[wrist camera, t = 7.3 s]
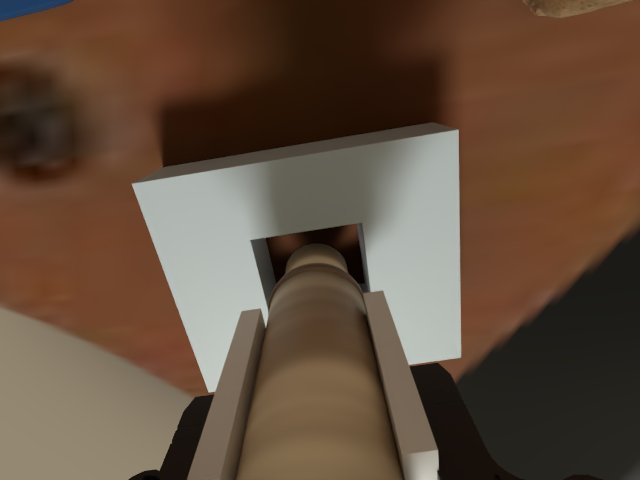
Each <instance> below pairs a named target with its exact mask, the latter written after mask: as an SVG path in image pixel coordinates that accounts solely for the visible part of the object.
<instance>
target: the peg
mask: <svg viewBox="0 0 640 480" xmlns="http://www.w3.org/2000/svg"><path fill="white" fill-rule="evenodd" d="M236 480H404V477H403V473H402V469H401V464H400V460H399V456H398V451H397V447H396V443H395V438H394V434H393V430H392V426H391V421H390V417H389V413H388V408H387V404H386V400H385V395H384V391H383V387H382V382H381V378H380V374H379V369H378V365H377V361H376V356H375V352H374V348H373V344H372V339H371V335H370V331H369V326H368V322H367V318H366V312H365V304H364V297H363V292H362V290H361V288H360V286H359V284H358V283H357V282H356V281H355V279H354V278H353V277H352V276H351V275H350V274H348V269H347V264H346V262H345V259H344V258H343V256H342V255H341V254H340V253H339V252H338V251H337V250H336V249H334V248H332V247H330V246H328V245H324V244H309V245H306V246H303V247H301V248H299V249H298V250H296V251H295V252H294V253H293V254H292V255H291V256H290V258H289V260H288V262H287V265H286V271H285V275H284V276H283V277H282V278H281V279H280V280H279V281H278V282H277V284H276V285H275V287H274V289H273V291H272V293H271V296H270V300H269V306H268V320H267V325H266V330H265V335H264V340H263V345H262V350H261V355H260V360H259V365H258V370H257V375H256V380H255V385H254V390H253V395H252V401H251V406H250V411H249V416H248V421H247V426H246V431H245V436H244V441H243V446H242V451H241V456H240V461H239V466H238V471H237V476H236Z"/></svg>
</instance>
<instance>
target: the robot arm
mask: <svg viewBox="0 0 640 480" xmlns="http://www.w3.org/2000/svg"><path fill="white" fill-rule="evenodd" d="M363 297H364V304H365V312H366V318H367V322H368V326H369V331H370V335H371V339H372V344H373V348H374V352H375V356H376V361H377V365H378V369H379V374H380V378H381V382H382V387H383V391H384V395H385V400H386V404H387V408H388V413H389V417H390V421H391V426H392V430H393V434H394V438H395V443H396V447H397V451H398V456H399V460H400V464H401V469H402V473H403V477H404V480H524V479H520V478H518V477H516V476H514V475H512V474H510V473H508V472H507V471H505V470H504V469H503V468H501V467H500V466H499V465H498V464H497V463H496V462H495V461H494V460H493V459H492V457H491V456H490V454H489V453H488V451H487V449H486V447H485V445H484V443H483V441H482V439H481V437H480V435H479V432H478V430H477V428H476V426H475V424H474V422H473V420H472V418H471V416H470V414H469V412H468V410H467V408H466V405H465V404H464V402H463V399H462V397H461V395H460V393H459V392H458V389H457V387H456V385H455V382H454V380H453V378H452V376H451V374H450V373H449V372H447V371H446V370H445V369H444V368H443V367H442V366H441V365H440V364H438V363H433V364H426V365H419V366H411V367H409V364H408V361H407V358H406V356H405V353H404V350H403V347H402V344H401V341H400V338H399V335H398V332H397V329H396V327H395V324H394V321H393V318H392V315H391V312H390V309H389V306H388V303H387V300H386V298H385V295H384V292H383V290H382V291H375V292H368V293H363ZM265 330H266V326H265V322H264V319H263V315H262V311H261V308H259V309H253V310H246V311H241V314H240V317H239V320H238V323H237V326H236V330H235V333H234V336H233V339H232V342H231V345H230V348H229V351H228V354H227V357H226V360H225V363H224V367H223V370H222V373H221V376H220V379H219V382H218V385H217V388H216V391H215V394H214V395H207V396H200V397H195V398H194V400H193V401H192V402H191V403H190V404H189V406H188V407H187V408H186V409H185V410H184V412H183V414H182V417H181V420H180V422H179V424H178V427H177V428H178V429H177V430H176V432H175V434H174V437H173V439H172V444H170V447H169V449H168V452H167V454H166V457H165V459H164V462H163V464H162V467H161V469H160V471H158V470H149V471H144V472H141V473H139V474H137V475H135V476H133V477H131V478H130V479H129V480H236V476H237V471H238V466H239V461H240V456H241V451H242V446H243V441H244V436H245V431H246V426H247V421H248V416H249V411H250V406H251V401H252V395H253V390H254V385H255V380H256V375H257V370H258V365H259V360H260V355H261V350H262V345H263V340H264V335H265ZM564 480H602V479H598V478H596V477H593V476H590V475H572V476H570V477H567V478H565V479H564Z"/></svg>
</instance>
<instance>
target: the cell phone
mask: <svg viewBox="0 0 640 480" xmlns="http://www.w3.org/2000/svg"><path fill="white" fill-rule="evenodd" d="M72 1H73V0H0V21H3V20H7V19H11V18H15V17H19V16H23V15H27V14H31V13H35V12H39V11H43V10H47V9H50V8H54V7H57V6H61V5H64V4H67V3H69V2H72Z"/></svg>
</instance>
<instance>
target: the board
mask: <svg viewBox="0 0 640 480" xmlns="http://www.w3.org/2000/svg"><path fill="white" fill-rule="evenodd" d="M132 186H133V189H134V191H135V194H136V197H137V199H138V202H139V205H140V208H141V210H142V213H143V216H144V218H145V221H146V224H147V227H148V229H149V232H150V235H151V237H152V240H153V243H154V245H155V248H156V251H157V254H158V256H159V259H160V262H161V264H162V267H163V270H164V272H165V275H166V278H167V281H168V283H169V286H170V289H171V291H172V294H173V297H174V300H175V302H176V305H177V308H178V310H179V313H180V316H181V318H182V321H183V324H184V327H185V329H186V332H187V335H188V337H189V340H190V343H191V346H192V348H193V351H194V354H195V356H196V359H197V362H198V364H199V367H200V370H201V373H202V375H203V378H204V381H205V383H206V386H207V389H208V392H215V391H216V388H217V385H218V382H219V379H220V376H221V373H222V370H223V367H224V363H225V360H226V357H227V354H228V351H229V348H230V345H231V342H232V339H233V336H234V333H235V330H236V326H237V323H238V320H239V317H240V314H241V311H246V310H253V309H259V308H261V311H262V315H263V319H264V322H265V326H266V325H267V320H268V306H269V300H270V296H271V293H272V291H273V289H274V287H275V285H276V280H275V275H274V271H273V267H272V263H271V258H270V254H269V250H268V246H267V242H266V238H267V237H273V236H279V235H286V234H292V233H298V232H305V231H311V230H318V229H324V228H330V227H337V226H343V225H350V224H356V223H357V227H358V235H359V243H360V250H361V258H362V266H363V274H364V282H365V283H362V284H359V286H360V288H361V290H362V292H363V293H368V292H375V291H382V290H383V292H384V295H385V298H386V300H387V303H388V306H389V309H390V312H391V315H392V318H393V321H394V324H395V327H396V329H397V332H398V335H399V338H400V341H401V344H402V347H403V350H404V353H405V356H406V358H407V361H408V364H409V365H410V364H417V363H425V362H432V361H439V360H446V359H454V358H461V308H460V219H459V130H458V129H455V128H451V127H448V126H444V125H441V124H437V123H434V122H431V123H425V124H419V125H413V126H407V127H401V128H395V129H389V130H383V131H377V132H371V133H365V134H359V135H353V136H347V137H341V138H335V139H329V140H323V141H317V142H311V143H305V144H299V145H293V146H287V147H281V148H275V149H269V150H263V151H257V152H251V153H245V154H239V155H234V156H228V157H222V158H216V159H210V160H204V161H198V162H192V163H186V164H180V165H174V166H168V167H162V168H161V169H159V170H157V171H155V172H153V173H151V174H149V175H147V176H146V177H144V178H142V179H140V180H138V181H136V182H134V183H132Z"/></svg>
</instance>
